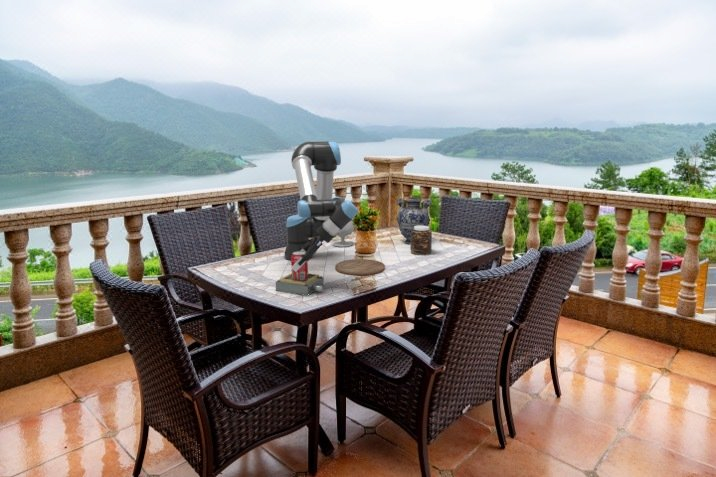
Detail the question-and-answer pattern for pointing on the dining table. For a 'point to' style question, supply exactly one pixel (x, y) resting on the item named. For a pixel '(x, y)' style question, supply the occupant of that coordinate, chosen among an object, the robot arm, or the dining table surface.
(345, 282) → the dining table surface
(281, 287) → the grey framed box
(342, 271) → the trivet
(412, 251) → the jar
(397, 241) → the dining table surface
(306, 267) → the soda can
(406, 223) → the decorative vase
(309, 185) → the robot arm
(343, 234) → the chalice
